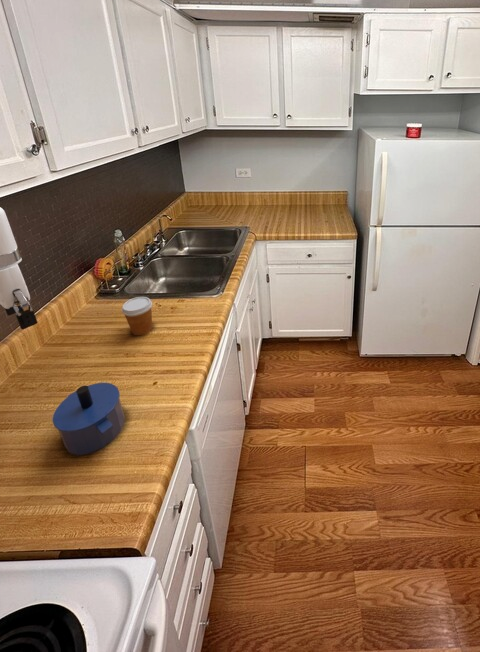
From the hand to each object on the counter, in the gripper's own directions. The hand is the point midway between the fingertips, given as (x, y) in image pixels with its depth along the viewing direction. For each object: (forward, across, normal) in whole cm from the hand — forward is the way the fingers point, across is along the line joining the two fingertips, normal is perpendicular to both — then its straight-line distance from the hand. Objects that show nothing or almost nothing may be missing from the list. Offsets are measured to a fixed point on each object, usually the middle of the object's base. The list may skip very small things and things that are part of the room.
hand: (22, 319), depth 84 cm
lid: (+18, +21, +2) cm, 28 cm away
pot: (+26, +22, +2) cm, 34 cm away
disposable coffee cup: (+26, -6, +30) cm, 40 cm away
